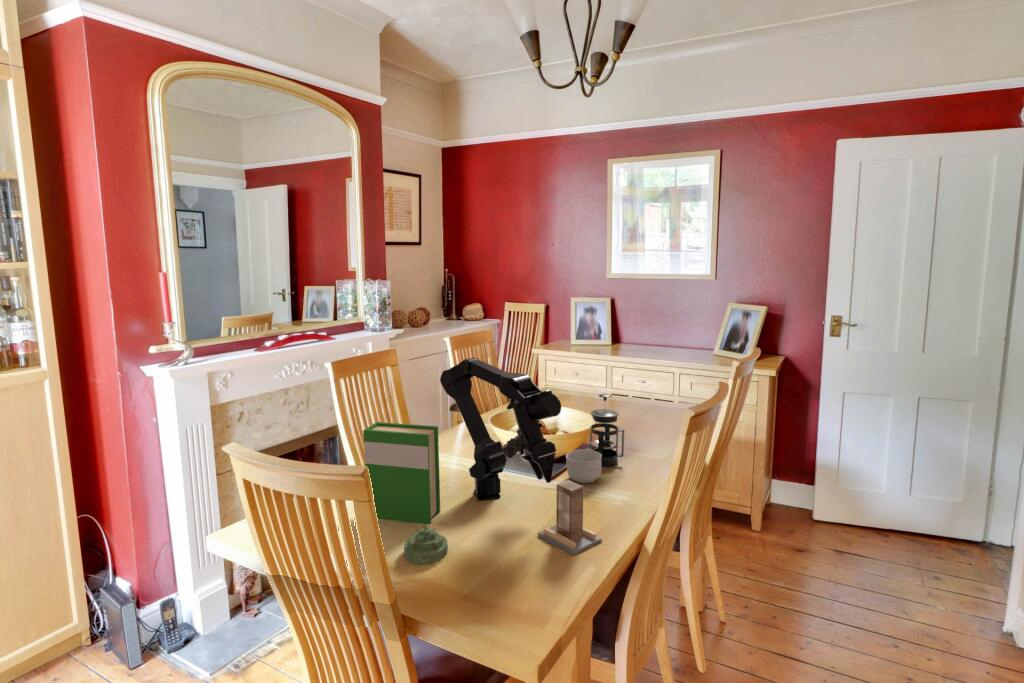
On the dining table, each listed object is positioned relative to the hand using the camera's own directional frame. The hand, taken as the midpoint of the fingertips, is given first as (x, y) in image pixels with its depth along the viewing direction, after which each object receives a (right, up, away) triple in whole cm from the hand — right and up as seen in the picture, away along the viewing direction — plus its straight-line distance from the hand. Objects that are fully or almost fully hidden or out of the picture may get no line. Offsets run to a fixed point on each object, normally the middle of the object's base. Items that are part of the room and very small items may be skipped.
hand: (544, 480), depth 152 cm
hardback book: (-37, -10, +4) cm, 39 cm away
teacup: (+14, -6, +28) cm, 32 cm away
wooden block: (+6, -11, -9) cm, 15 cm away
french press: (+22, -4, +41) cm, 46 cm away
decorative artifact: (-29, -14, -15) cm, 35 cm away
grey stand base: (+6, -12, -9) cm, 16 cm away
